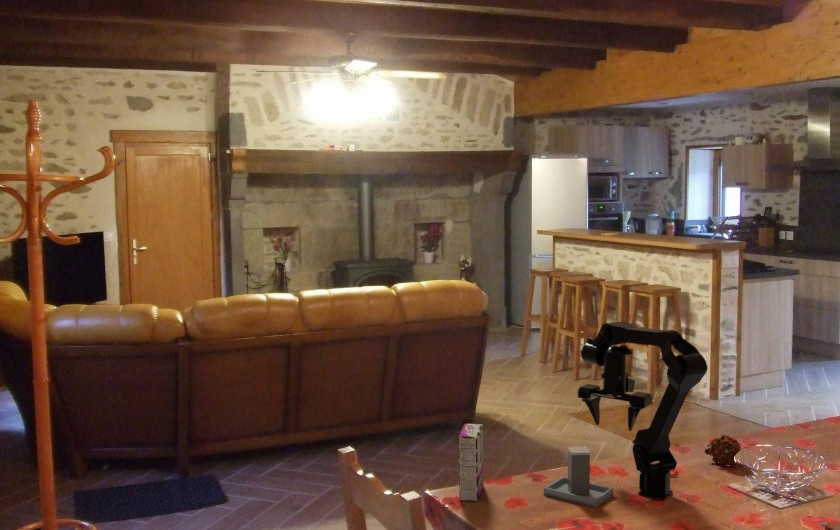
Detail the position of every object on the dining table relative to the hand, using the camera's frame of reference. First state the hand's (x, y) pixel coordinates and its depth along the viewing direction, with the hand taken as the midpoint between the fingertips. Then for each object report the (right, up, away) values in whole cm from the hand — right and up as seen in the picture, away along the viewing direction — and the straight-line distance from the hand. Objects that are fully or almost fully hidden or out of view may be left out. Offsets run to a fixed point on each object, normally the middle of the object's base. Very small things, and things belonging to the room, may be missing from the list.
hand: (613, 427), depth 214 cm
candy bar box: (-38, -15, -10) cm, 42 cm away
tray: (-12, -14, -12) cm, 22 cm away
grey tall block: (-12, -14, -12) cm, 22 cm away
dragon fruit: (+33, -12, +10) cm, 36 cm away
